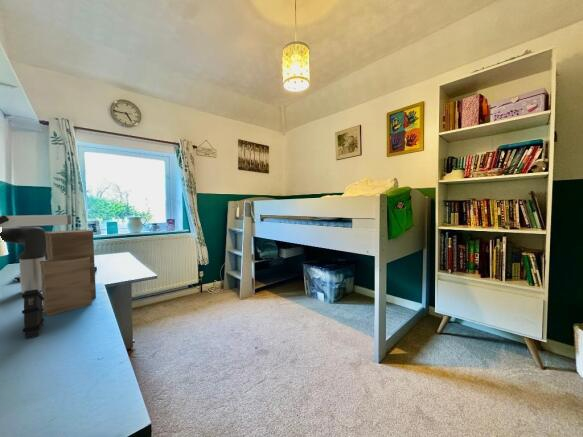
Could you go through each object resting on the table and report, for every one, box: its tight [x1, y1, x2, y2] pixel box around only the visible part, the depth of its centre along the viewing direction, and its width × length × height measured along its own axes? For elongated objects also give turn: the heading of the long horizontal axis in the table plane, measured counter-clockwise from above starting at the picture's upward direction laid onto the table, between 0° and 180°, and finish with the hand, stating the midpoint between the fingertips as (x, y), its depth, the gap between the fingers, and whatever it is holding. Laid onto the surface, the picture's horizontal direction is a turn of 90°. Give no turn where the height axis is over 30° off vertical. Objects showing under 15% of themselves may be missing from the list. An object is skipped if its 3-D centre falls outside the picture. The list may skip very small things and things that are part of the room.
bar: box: [0, 214, 72, 227], centre depth 93 cm, size 4×24×4 cm, turn 144°
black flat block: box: [21, 289, 45, 340], centre depth 84 cm, size 4×13×15 cm, turn 40°
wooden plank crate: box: [40, 228, 97, 317], centre depth 108 cm, size 21×18×32 cm
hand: (6, 217), depth 89 cm, fingers closed on bar, 4 cm apart
